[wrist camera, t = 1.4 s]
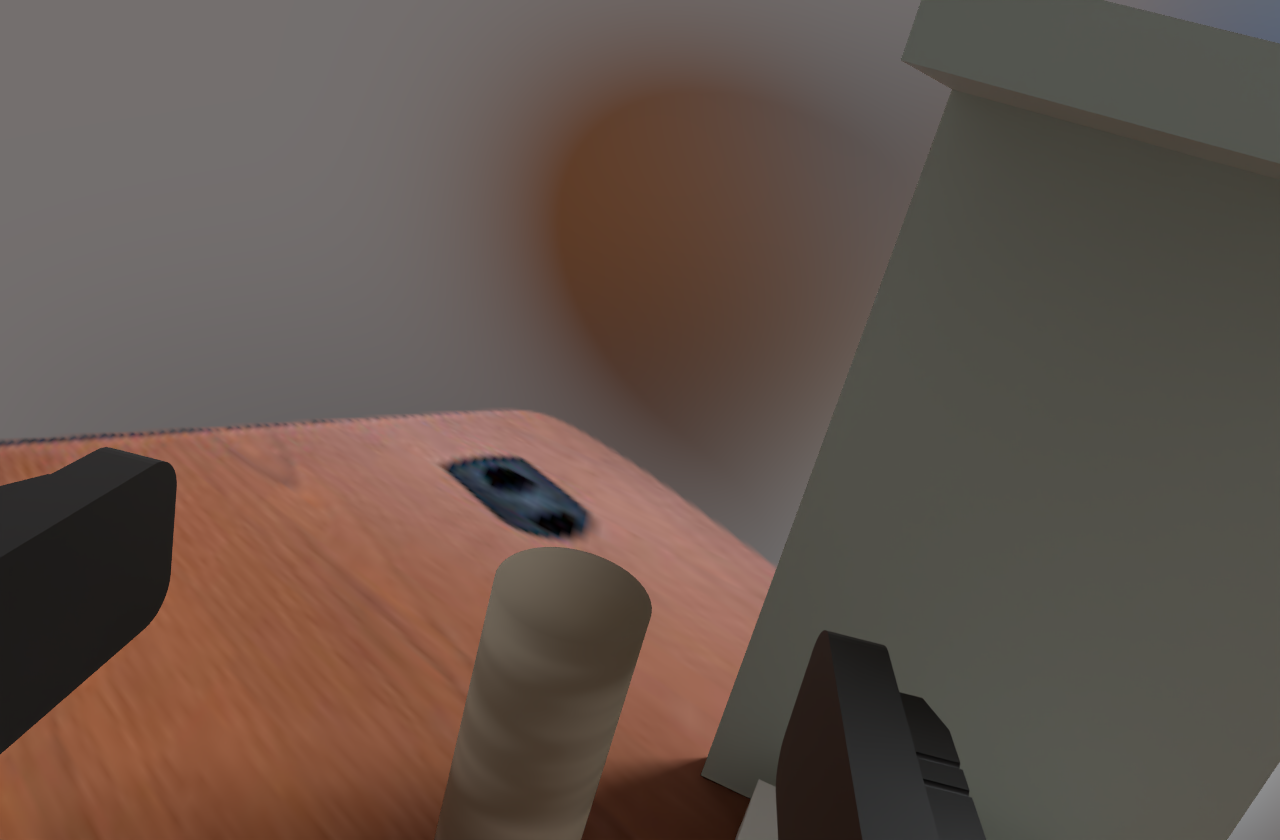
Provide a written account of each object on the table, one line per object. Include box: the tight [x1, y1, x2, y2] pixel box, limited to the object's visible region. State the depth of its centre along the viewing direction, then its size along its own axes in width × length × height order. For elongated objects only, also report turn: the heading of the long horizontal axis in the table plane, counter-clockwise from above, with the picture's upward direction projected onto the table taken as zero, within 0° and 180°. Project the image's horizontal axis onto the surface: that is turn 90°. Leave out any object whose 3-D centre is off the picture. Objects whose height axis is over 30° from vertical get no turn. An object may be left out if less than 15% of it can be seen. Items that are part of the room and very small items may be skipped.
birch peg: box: [434, 547, 652, 840], centre depth 26 cm, size 4×4×12 cm
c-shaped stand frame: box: [701, 0, 1280, 840], centre depth 22 cm, size 16×17×27 cm
